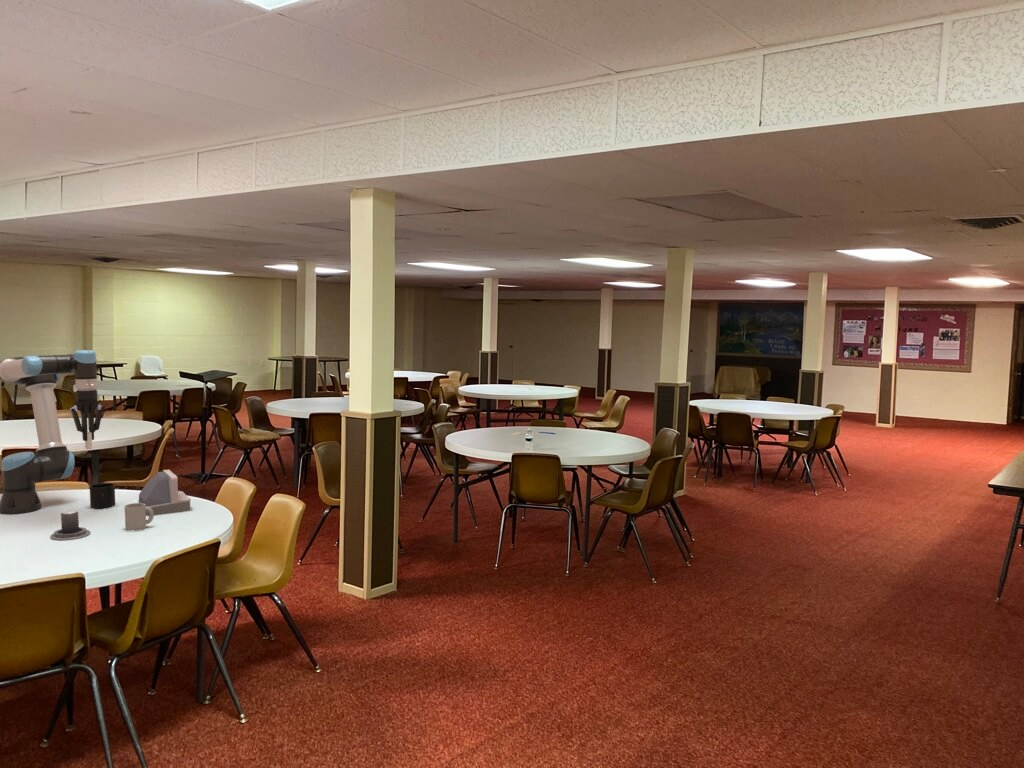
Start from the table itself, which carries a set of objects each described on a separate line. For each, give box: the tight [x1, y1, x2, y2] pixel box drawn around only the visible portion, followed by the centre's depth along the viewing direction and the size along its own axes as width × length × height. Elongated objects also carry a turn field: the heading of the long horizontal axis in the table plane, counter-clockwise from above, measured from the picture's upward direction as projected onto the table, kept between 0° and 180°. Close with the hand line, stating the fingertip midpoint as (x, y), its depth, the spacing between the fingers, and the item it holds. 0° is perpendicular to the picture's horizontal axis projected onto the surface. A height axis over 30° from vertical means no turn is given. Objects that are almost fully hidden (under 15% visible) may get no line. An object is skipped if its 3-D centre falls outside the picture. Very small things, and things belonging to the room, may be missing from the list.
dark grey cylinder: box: [60, 510, 80, 534], centre depth 298 cm, size 6×6×8 cm
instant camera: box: [137, 469, 191, 517], centre depth 338 cm, size 21×21×15 cm
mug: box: [89, 482, 116, 510], centre depth 340 cm, size 9×12×9 cm
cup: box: [124, 502, 155, 531], centre depth 309 cm, size 7×10×9 cm
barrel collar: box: [49, 526, 91, 541], centre depth 298 cm, size 13×13×2 cm
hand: (88, 448), depth 319 cm, fingers closed
